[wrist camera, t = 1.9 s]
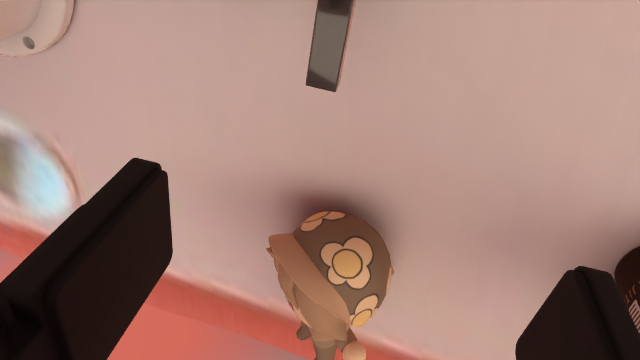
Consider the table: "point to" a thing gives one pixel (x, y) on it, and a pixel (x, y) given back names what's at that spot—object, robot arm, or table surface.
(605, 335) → the robot arm
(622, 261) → the coffee mug
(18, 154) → the table surface
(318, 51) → the saucepan
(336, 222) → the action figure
